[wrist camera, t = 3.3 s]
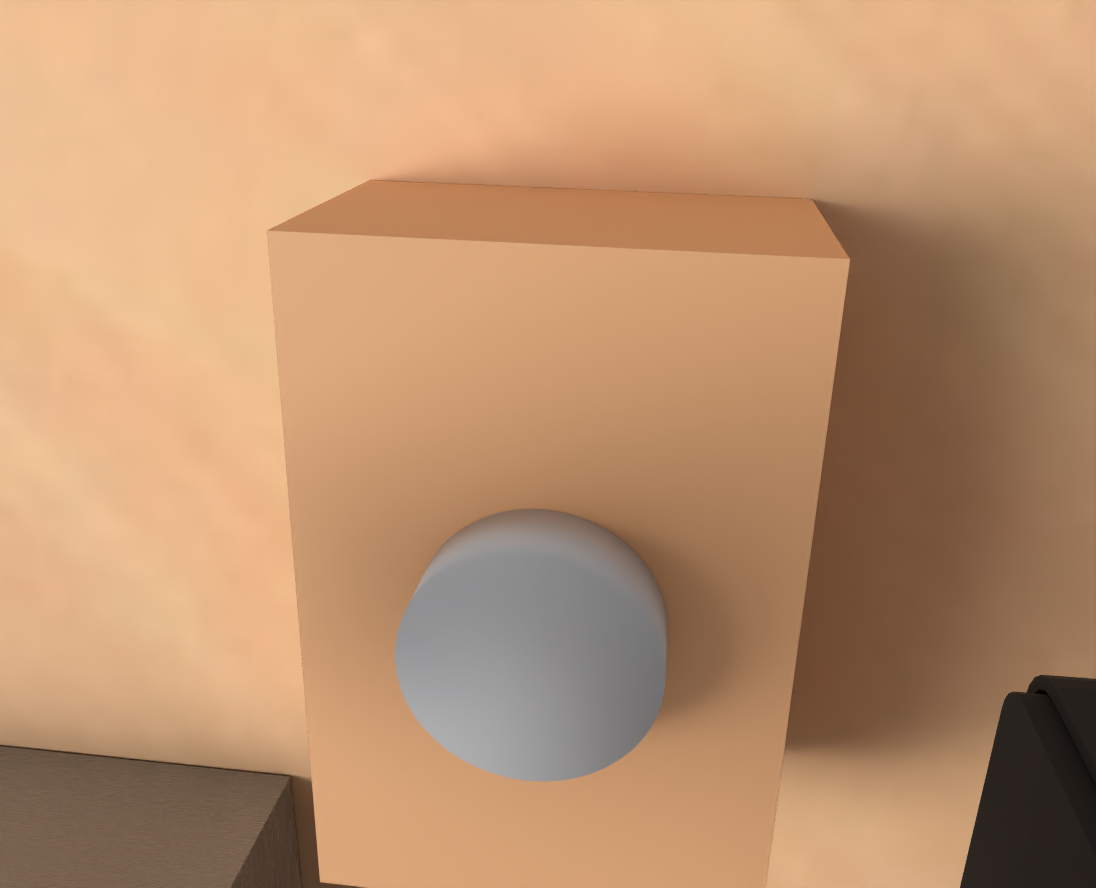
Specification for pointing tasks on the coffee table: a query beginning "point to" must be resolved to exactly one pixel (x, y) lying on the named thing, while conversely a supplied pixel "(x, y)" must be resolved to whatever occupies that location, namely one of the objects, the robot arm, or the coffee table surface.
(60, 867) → the stand
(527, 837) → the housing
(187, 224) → the coffee table surface
